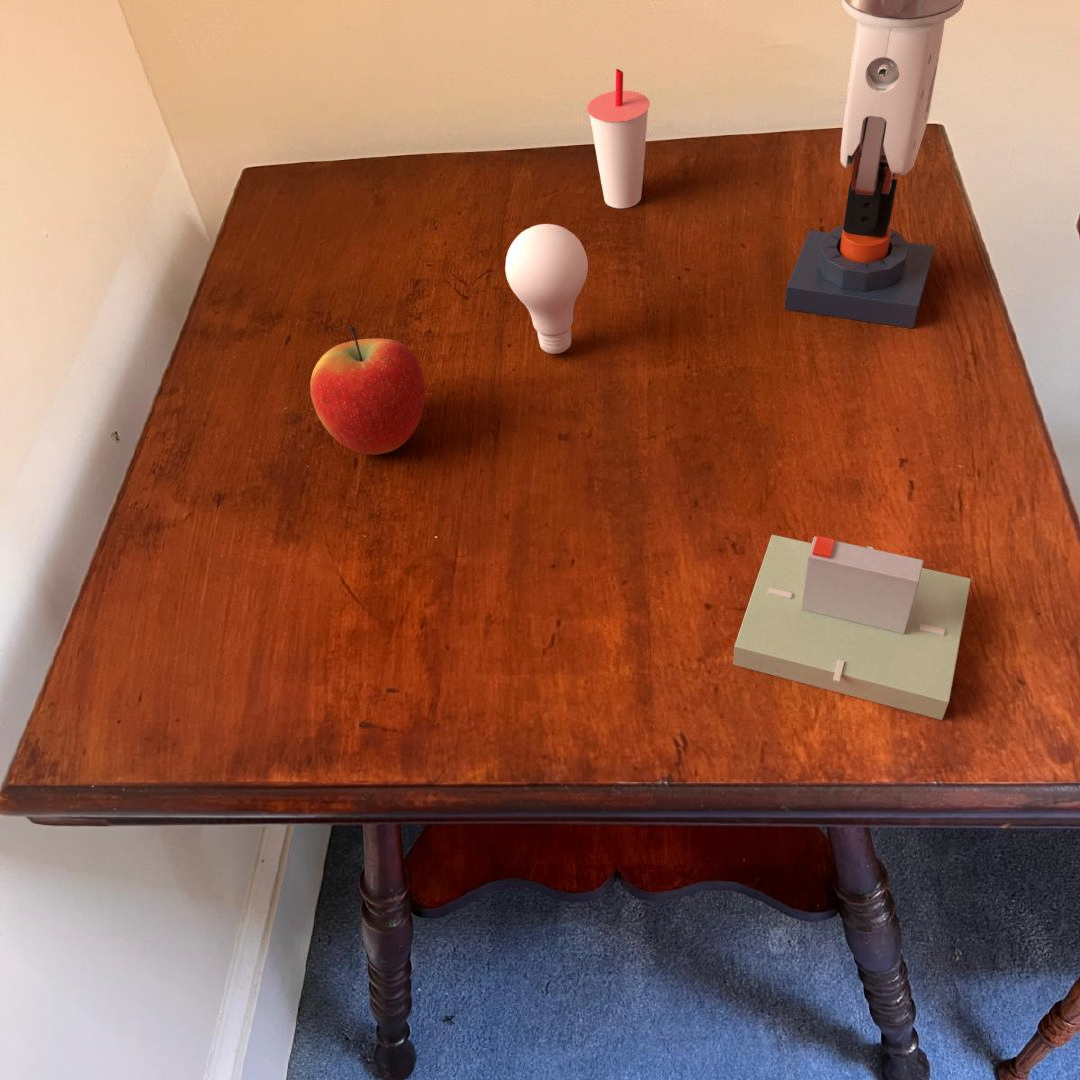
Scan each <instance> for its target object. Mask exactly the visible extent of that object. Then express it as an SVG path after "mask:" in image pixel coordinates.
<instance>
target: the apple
mask: <svg viewBox="0 0 1080 1080" xmlns="http://www.w3.org/2000/svg"><path fill="white" fill-rule="evenodd" d="M348 328H349V330H350V332H351V334H352V336H353V340H350V341H346V342H343V343H339V344H337V345H335V346H333V347H332V348H330V349H329V350H327V351H326V352H325V353H324V354H323V355H322V356H321V357H320V359H319V360H318V361H317V363H316V364H315V366H314V368H313V370H312V374H311V377H310V382H309V388H310V397H311V398H310V399H311V402H312V405H313V408H314V410H315V413H316V416H317V417H318V419H319V421H320V422H321V424H322V425H323V427H324V428H325V430H326V431H327V432H328V433H329V435H330V436H331V437H332V438H334V439H335V440H336V441H337V442H338V443H339V444H341V446H344V447H345V448H347V449H349V450H351V451H353V452H355V453H358V454H362V455H370V456H376V455H383V454H387V453H391V452H392V451H395V450H397V449H399V448H401V447H402V446H403V445H405V443H406V442H407V441H408V440H409V439H410V438H411V437H412V436H413V434H414V433H415V430H416V429H417V427H418V425H419V422H420V419H421V417H422V416H423V410H424V405H425V401H426V400H425V399H426V383H425V378H424V373H423V369H422V367H421V364H420V363H419V360H418V359H417V357H416V356H415V354H414V353H413V352H412V351H411V350H410V348H408V346H406V345H405V344H403V343H401V342H400V341H397V340H394V339H390V338H380V337H379V338H378V337H377V338H375V337H374V338H362V339H358V336H357V331H356V327H355V326H354V325H348Z"/></svg>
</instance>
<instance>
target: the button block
mask: <svg viewBox="0 0 1080 1080" xmlns="http://www.w3.org/2000/svg"><path fill="white" fill-rule="evenodd" d="M843 227H844V224H842V225H840V226H837V227H836V228H835V229H833V230H831V231H829V232H827V231H819V230H812V229H810V230H808V233H807V235H806V237H805V240H804V243H803V245H802V248H801V250H800V252H799V255H798V258H797V260H796V263H795V265H794V268H793V270H792V273H791V275H790V278H789V280H788V281H787V282H788V283H787V285H786V290H785V303H784V310H788V311H794V312H802V313H807V314H813V315H820V316H827V317H834V318H839V319H848V320H853V321H860V322H868V323H873V324H879V325H887V326H893V327H900V328H906V329H915V326H916V321H917V318H918V314H919V310H920V307H921V303H922V299H923V297H924V292H925V288H926V284H927V281H928V277H929V274H930V269H931V267H932V261H933V257H934V252H935V245H929V244H923V243H922V244H921V243H914V242H907V241H906V239H905V238H904V236H903V235H902V233H900V232H898V231H896V230H894V229H893V228H890V230H891V236H890V242H889V248H888V253H887V255H886V257H885V258H884V259H883V260H881V261H876V262H870V263H861V262H854V261H851V260H849V259H847V258H845V257H843V256H842V255H841V253H840V246H841V238H842V231H843Z"/></svg>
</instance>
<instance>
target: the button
mask: <svg viewBox="0 0 1080 1080" xmlns="http://www.w3.org/2000/svg"><path fill="white" fill-rule="evenodd" d="M890 229H891V228H890V226H888V229H887V233H886V235H885V236H884V237H873V236H865V235H858V234H850V233H846V232H845V231H844V230H843V231H842V238H841V246H840V253H841V255H842V256H843V257H845V258H847V259H849V260H851V261H854V262H861V263H870V262H876V261H881V260H883V259H884V258H885V257H886V255H887V253H888V248H889V242H890V236H891V230H890Z"/></svg>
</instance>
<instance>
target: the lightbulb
mask: <svg viewBox="0 0 1080 1080" xmlns="http://www.w3.org/2000/svg"><path fill="white" fill-rule="evenodd" d="M588 265H589V264H588V256H587V253H586V250H585V248H584V246H583V244H582V242H581V241H580V239H579V238H578V237H577V236H576V235H575V234H574V233H573V232H571V231H570V230H568V229H567V228H565V227H564V226H561V225H558V224H553V223H552V224H551V223H540V224H536V225H533V226H530V227H529V228H526V229H525V230H523V231H522V232H520V233H519V234H518V235H517V236H516V237H515V239H514V240H513V241H512V242H511V245H510V246H509V248H508V250H507V254H506V257H505V267H504V270H505V271H504V272H505V275H506V280H507V283H508V285H509V287H510V289H511V290H512V292H513V293H514V295H515V296H516V297H517V298H518V300H520V302H521V303H522V304H523V305H524V306H525V307H526V309H527V311H528V313H529V315H530V317H531V321H532V326H533V328H534V329H535V331H536V333H537V338H538V343H539V346H540V349H541V350H542V351H543V352H545V353H547V354H550V355H551V354H552V355H556V354H557V355H558V354H561V353H564V352H566V351H567V350H568V349H569V348H570V347H571V344H572V328H571V327H572V326H573V323H574V308H575V303H576V301H577V298H578V297H579V295H580V293H581V291H582V290H583V287H584V285H585V283H586V280H587V277H588V271H589V266H588Z"/></svg>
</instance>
